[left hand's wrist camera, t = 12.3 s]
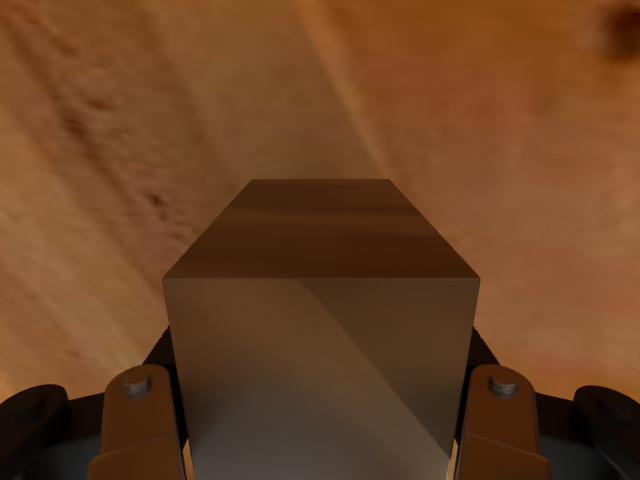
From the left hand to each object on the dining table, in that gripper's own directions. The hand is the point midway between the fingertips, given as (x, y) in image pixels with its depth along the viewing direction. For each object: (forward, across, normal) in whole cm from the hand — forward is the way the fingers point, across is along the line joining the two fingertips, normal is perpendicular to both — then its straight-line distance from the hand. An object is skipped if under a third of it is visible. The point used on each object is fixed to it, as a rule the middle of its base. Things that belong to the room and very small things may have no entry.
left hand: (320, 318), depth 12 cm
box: (+5, 0, +7) cm, 9 cm away
